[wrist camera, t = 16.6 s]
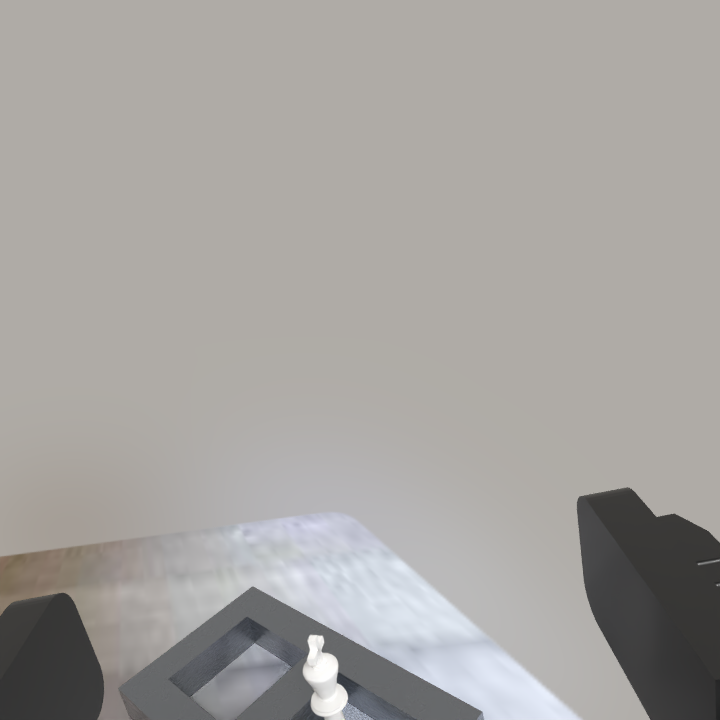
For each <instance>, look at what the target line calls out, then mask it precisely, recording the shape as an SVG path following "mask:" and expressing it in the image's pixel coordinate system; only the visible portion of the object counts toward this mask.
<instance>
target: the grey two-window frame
mask: <svg viewBox="0 0 720 720" xmlns="http://www.w3.org/2000/svg"><path fill="white" fill-rule="evenodd" d="M310 635H317V636H323V639H324V644H323V647H322V650H321V651H322V653H329V654H332V655H333V656H335V657H336V659H337V661H338V674H337V683H338V684H340V685H342V686H343V687H344V689H345V690H346V692H347V694H348V701H347V702H348V703H350V704H351V705H353V706H355V707H356V708H358V709H359V710H361V711H362V712H364V713H365V714H367V715H369V716H370V717H372V718H373V719H375V720H484V718H483V712H482V711H480V710H478V709H476V708H474V707H472V706H471V705H469V704H467V703H465V702H463V701H461V700H460V699H458V698H456V697H454V696H452V695H451V694H449V693H447V692H445V691H443V690H441V689H440V688H438V687H436V686H434V685H432V684H430V683H429V682H427V681H425V680H423V679H421V678H419V677H418V676H416V675H414V674H412V673H410V672H408V671H407V670H405V669H403V668H401V667H399V666H397V665H396V664H394V663H392V662H390V661H388V660H386V659H385V658H383V657H381V656H379V655H377V654H376V653H374V652H372V651H370V650H368V649H366V648H365V647H363V646H361V645H359V644H357V643H355V642H354V641H352V640H350V639H348V638H346V637H344V636H343V635H341V634H339V633H337V632H335V631H333V630H332V629H330V628H328V627H326V626H324V625H322V624H321V623H319V622H317V621H315V620H313V619H311V618H310V617H308V616H306V615H304V614H302V613H300V612H299V611H297V610H295V609H293V608H291V607H290V606H288V605H286V604H284V603H282V602H280V601H279V600H277V599H275V598H273V597H271V596H269V595H268V594H266V593H264V592H262V591H260V590H258V589H257V588H255V587H251V588H250V589H249V590H247V591H246V592H245V593H243V594H242V595H241V596H239V597H238V598H237V599H235V600H234V601H233V602H231V603H230V604H229V605H227V606H226V607H225V608H224V609H222V610H221V611H220V612H218V613H217V614H216V615H214V616H213V617H212V618H210V619H209V620H208V621H206V622H205V623H204V624H202V625H201V626H200V627H198V628H197V629H196V630H195V631H193V632H192V633H191V634H189V635H188V636H187V637H185V638H184V639H183V640H181V641H180V642H179V643H177V644H176V645H175V646H173V647H172V648H171V649H169V650H168V651H167V652H166V653H164V654H163V655H162V656H160V657H159V658H158V659H156V660H155V661H154V662H152V663H151V664H150V665H148V666H147V667H146V668H144V669H143V670H142V671H140V672H139V673H138V674H137V675H135V676H134V677H133V678H131V679H130V680H129V681H127V682H126V683H125V684H123V685H122V686H121V687H119V688H118V689H119V692H120V694H121V697H122V699H123V702H124V704H125V707H126V709H127V712H128V714H129V716H130V717H131V718H132V719H133V720H216V719H215V718H213V717H212V716H211V715H210V714H209V713H207V712H206V711H205V710H204V709H203V708H201V707H200V706H199V705H198V704H197V703H196V702H194V701H193V700H192V699H191V698H190V696H191V695H193V694H194V693H195V692H196V691H197V690H199V689H200V688H201V687H202V686H203V685H204V684H206V683H207V682H208V681H209V680H210V679H212V678H213V677H214V676H215V675H216V674H218V673H219V672H220V671H221V670H222V669H224V668H225V667H226V666H227V665H228V664H230V663H231V662H232V661H233V660H234V659H236V658H237V657H238V656H239V655H240V654H242V653H243V652H244V651H245V650H246V649H248V648H249V647H250V646H251V645H252V644H254V643H257V644H258V645H260V646H261V647H263V648H264V649H266V650H268V651H269V652H271V653H272V654H274V655H275V656H277V657H278V658H280V659H282V660H283V661H285V662H286V663H288V664H289V665H291V666H292V668H291V669H290V670H289V671H288V672H287V673H286V674H285V675H284V676H283V677H282V678H280V679H279V680H278V681H277V682H276V683H275V684H274V685H273V686H272V687H271V688H270V689H268V690H267V691H266V692H265V693H264V694H263V695H262V696H261V697H260V698H259V699H257V700H256V701H255V702H254V703H253V704H252V705H251V706H250V707H249V708H248V709H247V710H245V711H244V712H243V713H242V714H241V715H240V716H239V717H238V718H237V719H236V720H325V719H324V717H321V716H318V715H316V714H315V713H314V712H313V711H312V708H311V698H312V695H313V693H314V692H315V691H314V689H313V688H312V686H311V685H310V684H309V683H308V682H307V681H306V680H305V678H304V676H303V666H304V664H305V663H306V661H307V658H308V655H309V652H310V648H309V644H308V639H309V636H310Z"/></svg>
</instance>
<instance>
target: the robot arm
mask: <svg viewBox="0 0 720 720" xmlns="http://www.w3.org/2000/svg"><path fill="white" fill-rule="evenodd" d="M577 514H578V525H579V534H580V545H581V556H582V565H583V576H584V583H585V589H586V593H587V597H588V601H589V604H590V607H591V610H592V612H593V615H594V617H595V620H596V622H597V624H598V626H599V627H600V629H601V631H602V632H603V634H604V636H605V638H606V640H607V642H608V644H609V646H610V647H611V649H612V651H613V653H614V655H615V656H616V658H617V660H618V662H619V664H620V665H621V667H622V669H623V670H624V673H625V674H626V676H627V678H628V680H629V681H630V683H631V685H632V687H633V689H634V691H635V692H636V694H637V696H638V698H639V700H640V701H641V703H642V705H643V707H644V709H645V710H646V712H647V714H648V716H649V718H650V720H720V543H719V542H718V541H717V540H716V539H715V538H714V537H713V536H712V535H711V533H710V532H709V531H707V530H705V529H703V528H701V527H699V526H697V525H695V524H693V523H692V522H690V521H688V520H686V519H684V518H682V517H680V516H678V515H676V514H670V515H665V516H660V517H656V516H655V515H654V514H653V512H652V511H651V510H650V509H649V508H648V507H647V506H646V505H645V503H644V502H643V501H642V500H641V499H640V498H639V497H638V495H637V494H636V493H635V492H634V491H633V490H632V489H630V488H622V489H617V490H611V491H606V492H601V493H595V494H590V495H585V496H580V497H579V498H578V501H577ZM103 695H104V681H103V674H102V670H101V667H100V664H99V662H98V660H97V657H96V655H95V652H94V650H93V647H92V645H91V642H90V640H89V637H88V635H87V633H86V630H85V628H84V625H83V623H82V620H81V618H80V615H79V613H78V611H77V608H76V606H75V604H74V602H73V600H72V599H71V597H70V596H69V595H67V594H65V593H58V594H53V595H47V596H42V597H37V598H32V599H26V600H21V601H16V602H13V603H11V604H10V605H9V606H8V607H7V608H6V609H5V611H4V612H3V613H2V615H1V616H0V720H97V719H98V717H99V714H100V711H101V708H102V703H103Z"/></svg>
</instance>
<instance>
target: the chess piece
mask: <svg viewBox="0 0 720 720" xmlns="http://www.w3.org/2000/svg"><path fill="white" fill-rule="evenodd" d="M308 644H309V648H310V652H309V655H308V658H307V661H306V663H305V664H304V666H303V676H304V678H305V680H306V681H307V682H308V683H309V684H310V685H311V686H312V688H313V689H314V691H315V692H314V693H313V695H312V698H311V708H312V711H313V712H314V713H315V714H316V715H318V716H321V717H324V719H325V720H346V719H345V717H344V715H343V712H342V710H343V708H344V707H345V706H346V704H347V701H348V694H347V692H346V690H345V689H344V687H343V686H342V685H340V684H338V683H337V674H338V661H337V659H336V657H335V656H333V655H332V654H329V653H322V651H321V650H322V647H323V644H324V639H323V636H317V635H310V636H309V639H308Z"/></svg>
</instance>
